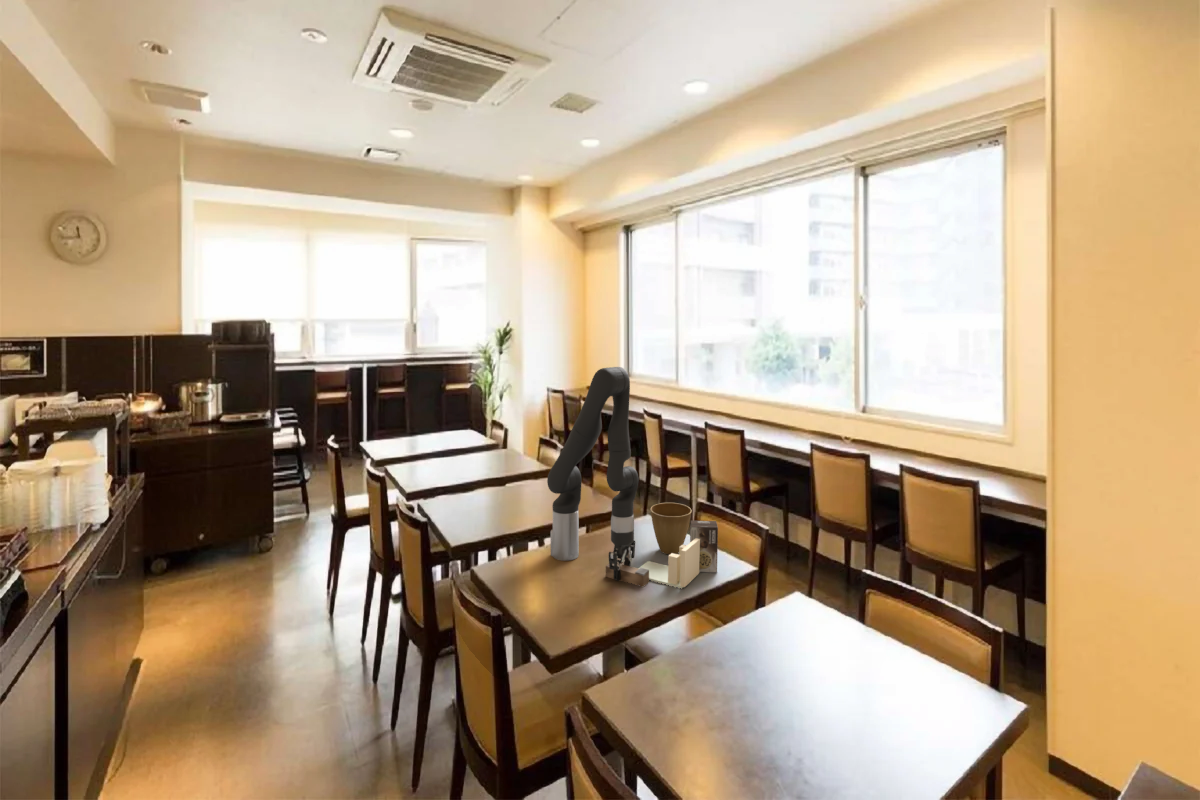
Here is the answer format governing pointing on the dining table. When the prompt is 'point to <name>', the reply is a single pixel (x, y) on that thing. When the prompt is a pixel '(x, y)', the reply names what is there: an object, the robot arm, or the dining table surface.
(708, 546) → the coffee box
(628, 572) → the rail
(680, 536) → the plant pot
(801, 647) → the dining table surface
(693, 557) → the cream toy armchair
